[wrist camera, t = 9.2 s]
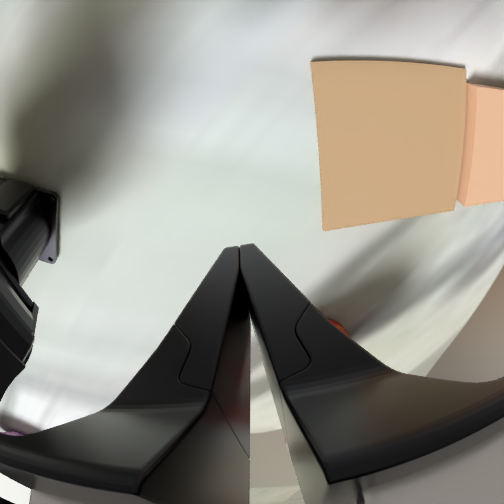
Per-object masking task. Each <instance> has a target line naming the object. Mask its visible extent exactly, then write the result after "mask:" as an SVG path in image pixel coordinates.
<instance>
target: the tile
mask: <svg viewBox="0 0 504 504" xmlns="http://www.w3.org/2000/svg"><path fill="white" fill-rule="evenodd" d="M456 199H457V200H458V201H459V202H460V203H461V204H462V205H463V206H464V207H467V206H473V205H479V204H485V203H492V202H498V201H504V88H500V87H494V86H487V85H480V84H472V83H466V115H465V131H464V143H463V153H462V162H461V170H460V178H459V185H458V191H457V197H456Z"/></svg>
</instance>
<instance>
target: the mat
mask: <svg viewBox="0 0 504 504" xmlns="http://www.w3.org/2000/svg"><path fill="white" fill-rule="evenodd" d="M310 64H311V72H312V81H313V90H314V100H315V110H316V121H317V133H318V146H319V161H320V177H321V197H322V223H323V230H324V231H328V230H334V229H341V228H347V227H353V226H359V225H365V224H371V223H378V222H384V221H390V220H396V219H403V218H409V217H415V216H422V215H428V214H434V213H441V212H447V211H454V208H455V203H456V197H457V191H458V185H459V178H460V170H461V162H462V153H463V143H464V131H465V115H466V69H464V68H457V67H450V66H443V65H434V64H425V63H414V62H399V61H375V60H339V61H314V62H310Z"/></svg>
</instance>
